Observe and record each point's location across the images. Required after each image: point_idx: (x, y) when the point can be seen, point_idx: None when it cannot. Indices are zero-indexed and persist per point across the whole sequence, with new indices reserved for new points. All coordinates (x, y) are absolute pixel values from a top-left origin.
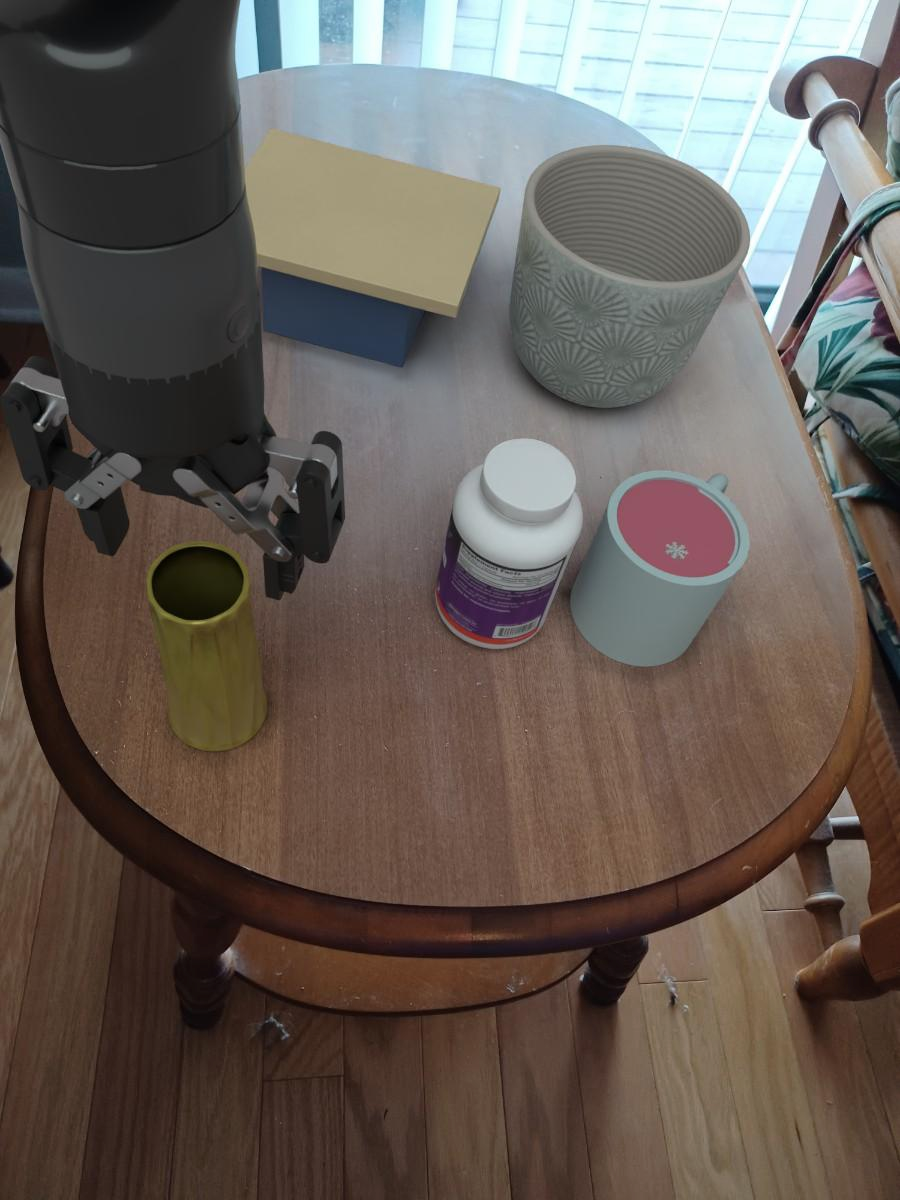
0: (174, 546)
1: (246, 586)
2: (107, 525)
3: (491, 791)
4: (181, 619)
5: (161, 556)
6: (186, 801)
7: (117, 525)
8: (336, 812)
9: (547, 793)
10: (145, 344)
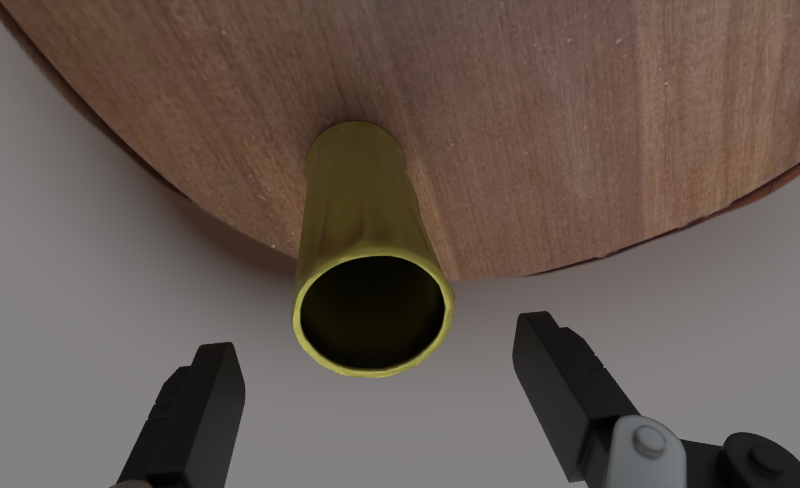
0: (307, 282)
1: (450, 302)
2: (225, 459)
3: (626, 160)
4: (381, 373)
5: (298, 307)
6: None
7: (227, 404)
8: (493, 223)
9: (678, 144)
10: None
